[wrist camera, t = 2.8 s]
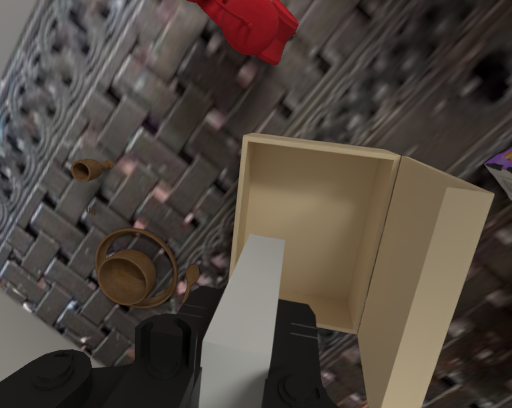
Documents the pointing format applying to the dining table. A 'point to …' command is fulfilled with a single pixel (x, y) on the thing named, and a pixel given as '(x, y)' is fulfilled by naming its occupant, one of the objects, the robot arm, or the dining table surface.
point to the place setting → (128, 258)
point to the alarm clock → (253, 25)
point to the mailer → (316, 218)
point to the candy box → (502, 170)
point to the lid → (417, 281)
